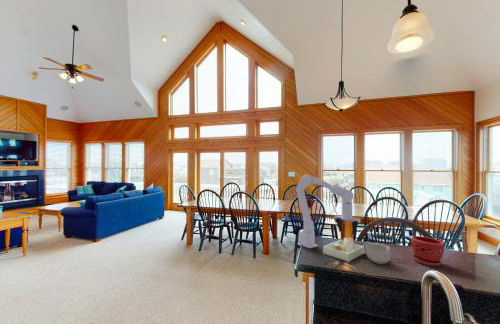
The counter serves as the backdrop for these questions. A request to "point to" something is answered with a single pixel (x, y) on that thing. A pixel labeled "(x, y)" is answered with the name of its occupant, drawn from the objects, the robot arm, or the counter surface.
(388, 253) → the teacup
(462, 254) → the counter surface
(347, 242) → the white canister
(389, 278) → the counter surface
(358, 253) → the tote
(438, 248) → the plant pot
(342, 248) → the oak cube
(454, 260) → the counter surface
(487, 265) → the counter surface
